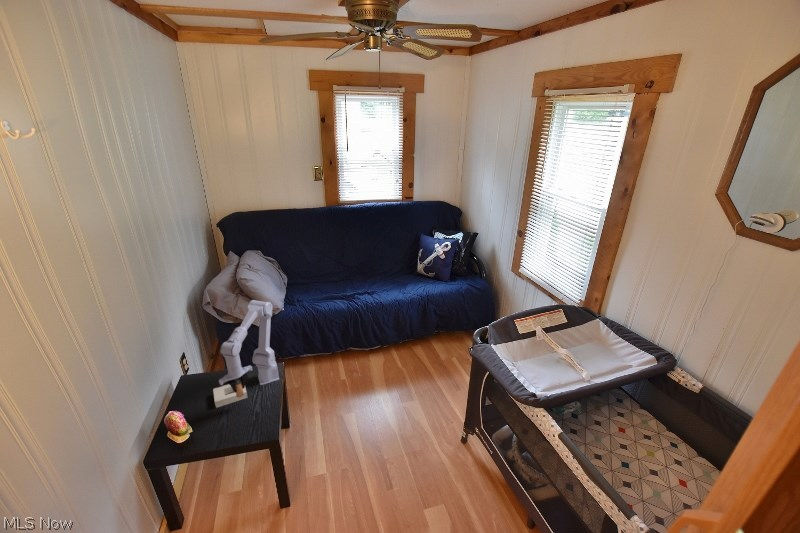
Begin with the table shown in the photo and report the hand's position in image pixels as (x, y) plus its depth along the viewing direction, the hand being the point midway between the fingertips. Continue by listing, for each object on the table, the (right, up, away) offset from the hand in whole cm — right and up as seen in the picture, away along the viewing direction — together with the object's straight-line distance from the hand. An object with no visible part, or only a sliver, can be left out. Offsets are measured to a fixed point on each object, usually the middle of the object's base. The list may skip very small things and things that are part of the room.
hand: (239, 389), depth 169 cm
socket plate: (-8, -7, +10) cm, 15 cm away
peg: (0, -3, +1) cm, 3 cm away
